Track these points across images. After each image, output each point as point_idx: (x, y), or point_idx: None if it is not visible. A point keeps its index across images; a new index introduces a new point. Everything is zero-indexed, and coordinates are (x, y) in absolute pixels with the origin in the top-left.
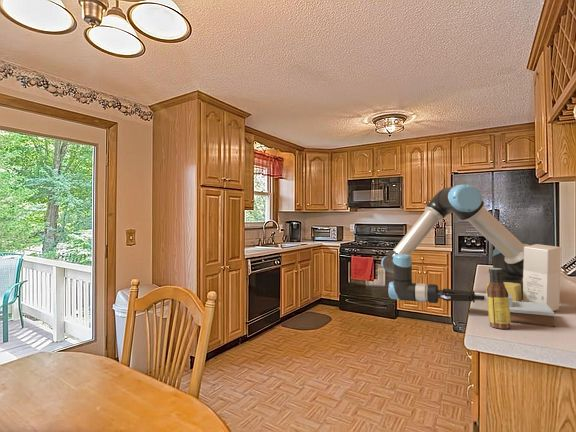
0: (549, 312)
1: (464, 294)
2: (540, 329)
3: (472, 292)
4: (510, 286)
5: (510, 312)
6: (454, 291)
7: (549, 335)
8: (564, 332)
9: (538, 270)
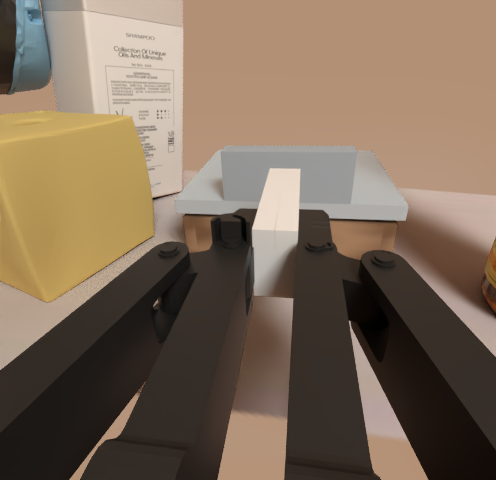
0: (371, 154)
1: (419, 314)
2: (424, 220)
3: (234, 240)
4: (109, 118)
5: (390, 220)
6: (184, 460)
7: (490, 215)
8: (410, 194)
9: (152, 9)
